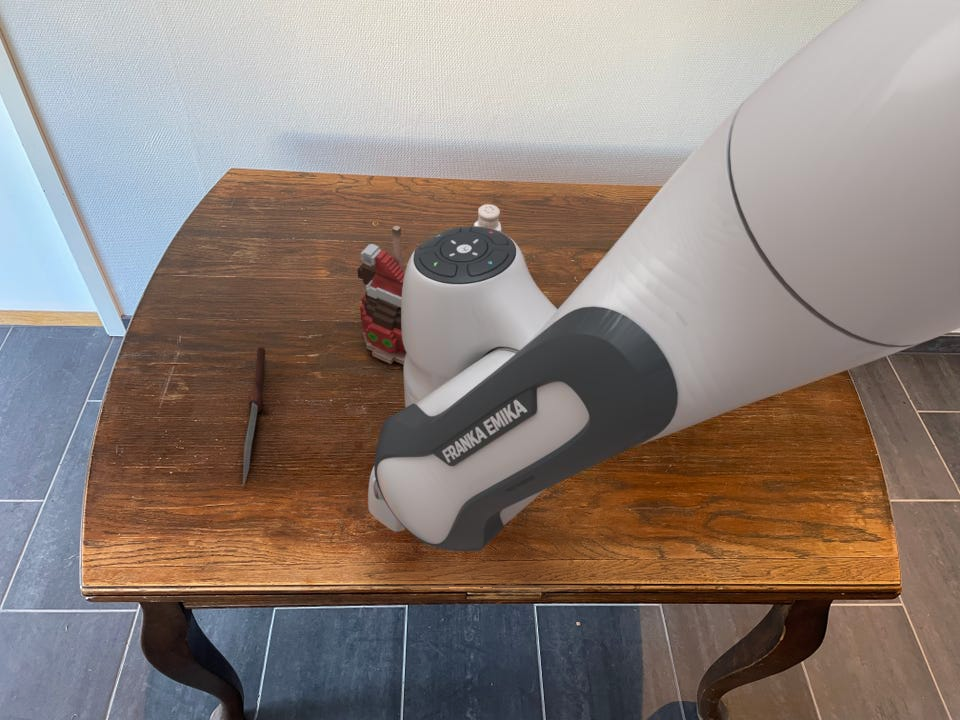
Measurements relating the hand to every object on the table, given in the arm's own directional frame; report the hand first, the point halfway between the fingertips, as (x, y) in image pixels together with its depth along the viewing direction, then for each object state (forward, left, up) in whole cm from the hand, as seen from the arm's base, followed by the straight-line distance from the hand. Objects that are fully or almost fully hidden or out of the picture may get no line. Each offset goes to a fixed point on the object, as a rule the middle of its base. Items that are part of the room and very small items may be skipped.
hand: (452, 475), depth 69 cm
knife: (+7, +24, -6) cm, 26 cm away
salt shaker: (+36, +1, -6) cm, 37 cm away
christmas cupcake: (+22, +10, -6) cm, 25 cm away
